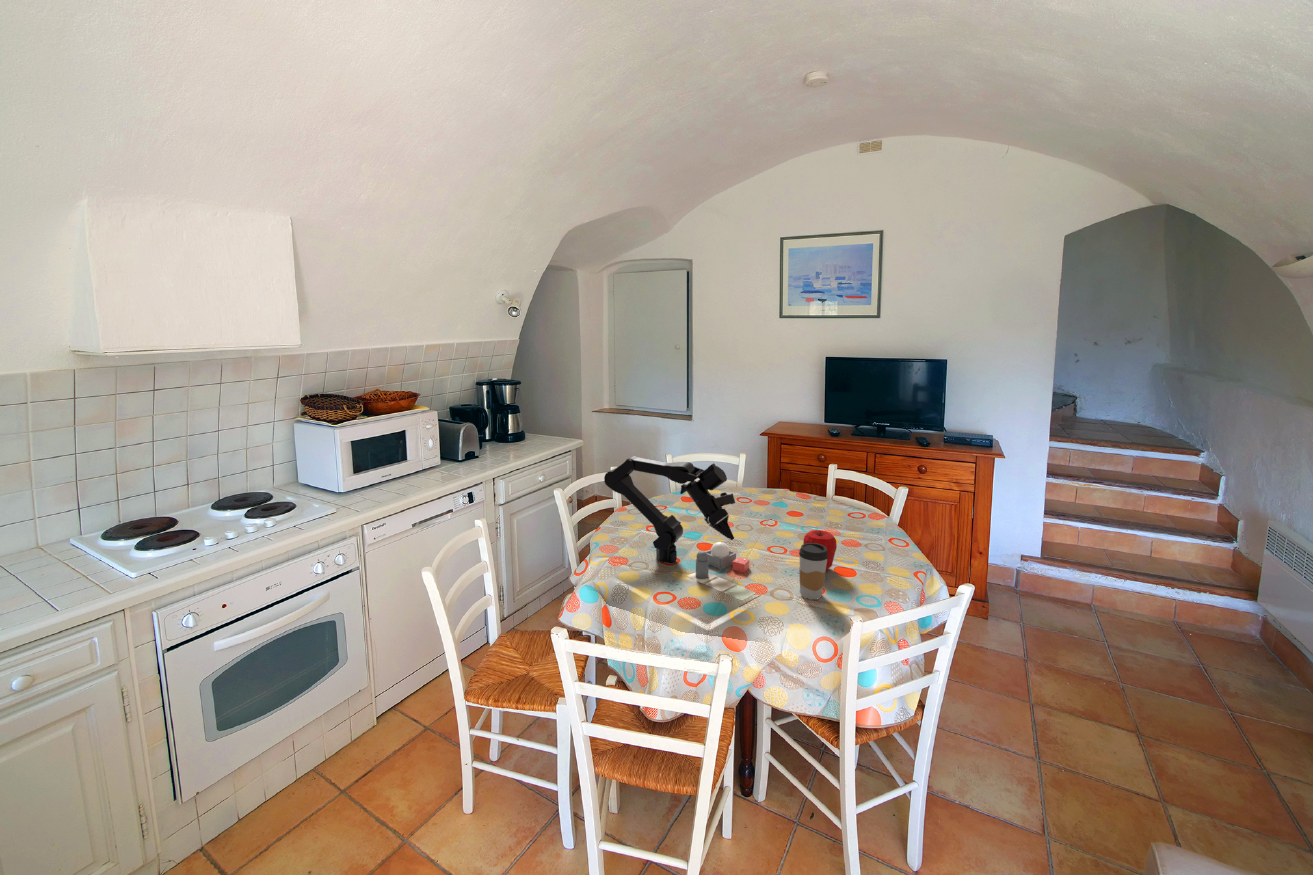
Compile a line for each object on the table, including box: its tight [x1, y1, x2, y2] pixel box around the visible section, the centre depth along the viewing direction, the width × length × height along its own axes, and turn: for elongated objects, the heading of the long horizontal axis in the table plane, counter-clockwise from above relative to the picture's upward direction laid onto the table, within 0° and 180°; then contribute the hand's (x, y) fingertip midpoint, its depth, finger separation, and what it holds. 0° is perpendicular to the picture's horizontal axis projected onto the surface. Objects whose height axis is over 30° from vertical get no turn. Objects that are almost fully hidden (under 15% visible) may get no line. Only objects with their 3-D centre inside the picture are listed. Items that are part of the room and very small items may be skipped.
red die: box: [732, 556, 750, 573], centre depth 193 cm, size 4×4×4 cm
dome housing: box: [705, 548, 737, 570], centre depth 198 cm, size 8×8×4 cm
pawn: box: [695, 550, 710, 579], centre depth 187 cm, size 4×4×8 cm
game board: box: [686, 571, 762, 608], centre depth 183 cm, size 23×10×1 cm, turn 44°
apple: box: [802, 529, 838, 571], centre depth 194 cm, size 11×10×14 cm
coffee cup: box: [798, 543, 828, 600], centre depth 177 cm, size 8×8×15 cm
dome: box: [710, 541, 730, 558], centre depth 198 cm, size 6×6×6 cm
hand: (731, 538), depth 189 cm, fingers open, 9 cm apart
